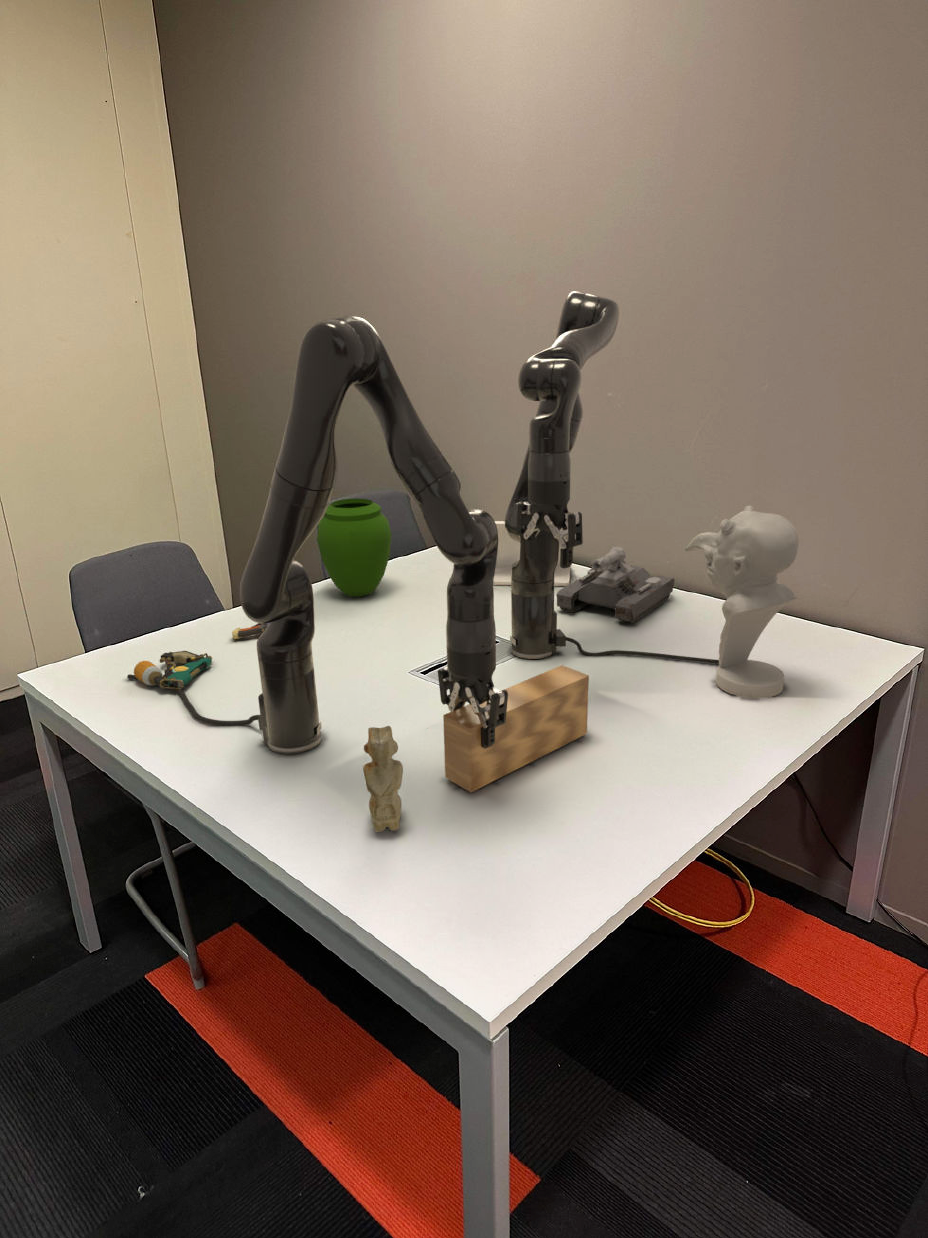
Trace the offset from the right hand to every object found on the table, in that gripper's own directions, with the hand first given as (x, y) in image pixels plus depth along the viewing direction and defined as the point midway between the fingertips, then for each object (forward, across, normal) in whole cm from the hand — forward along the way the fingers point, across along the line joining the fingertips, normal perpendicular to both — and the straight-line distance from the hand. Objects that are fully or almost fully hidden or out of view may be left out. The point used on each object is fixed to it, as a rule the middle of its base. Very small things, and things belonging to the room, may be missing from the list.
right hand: (548, 562), depth 158 cm
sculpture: (+27, +13, -49) cm, 58 cm away
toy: (+27, -23, +50) cm, 61 cm away
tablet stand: (+27, -57, +51) cm, 81 cm away
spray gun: (+27, -61, -49) cm, 83 cm away
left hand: (+19, +14, -32) cm, 39 cm away
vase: (+27, -78, +10) cm, 84 cm away
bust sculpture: (+27, +21, +30) cm, 46 cm away
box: (+26, +13, -21) cm, 36 cm away
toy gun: (+27, -73, -21) cm, 81 cm away
